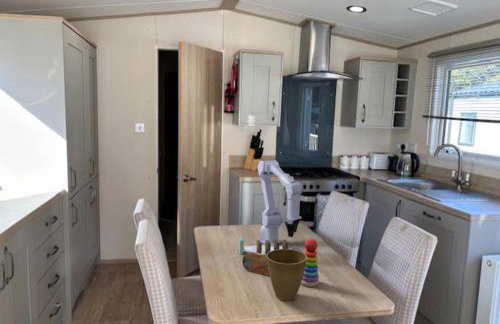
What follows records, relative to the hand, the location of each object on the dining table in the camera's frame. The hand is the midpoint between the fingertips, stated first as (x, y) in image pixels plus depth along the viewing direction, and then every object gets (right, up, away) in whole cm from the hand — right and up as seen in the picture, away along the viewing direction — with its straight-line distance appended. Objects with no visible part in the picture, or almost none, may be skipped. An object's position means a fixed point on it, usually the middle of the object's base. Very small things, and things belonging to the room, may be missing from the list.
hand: (292, 234), depth 184 cm
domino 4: (-8, -10, -1) cm, 13 cm away
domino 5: (-4, -10, 0) cm, 11 cm away
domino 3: (-12, -10, -2) cm, 16 cm away
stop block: (+2, -10, +1) cm, 10 cm away
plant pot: (-8, -15, -43) cm, 46 cm away
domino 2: (-16, -10, -2) cm, 19 cm away
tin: (-17, -13, -21) cm, 30 cm away
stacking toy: (+3, -14, -31) cm, 34 cm away
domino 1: (-25, -9, +1) cm, 27 cm away
